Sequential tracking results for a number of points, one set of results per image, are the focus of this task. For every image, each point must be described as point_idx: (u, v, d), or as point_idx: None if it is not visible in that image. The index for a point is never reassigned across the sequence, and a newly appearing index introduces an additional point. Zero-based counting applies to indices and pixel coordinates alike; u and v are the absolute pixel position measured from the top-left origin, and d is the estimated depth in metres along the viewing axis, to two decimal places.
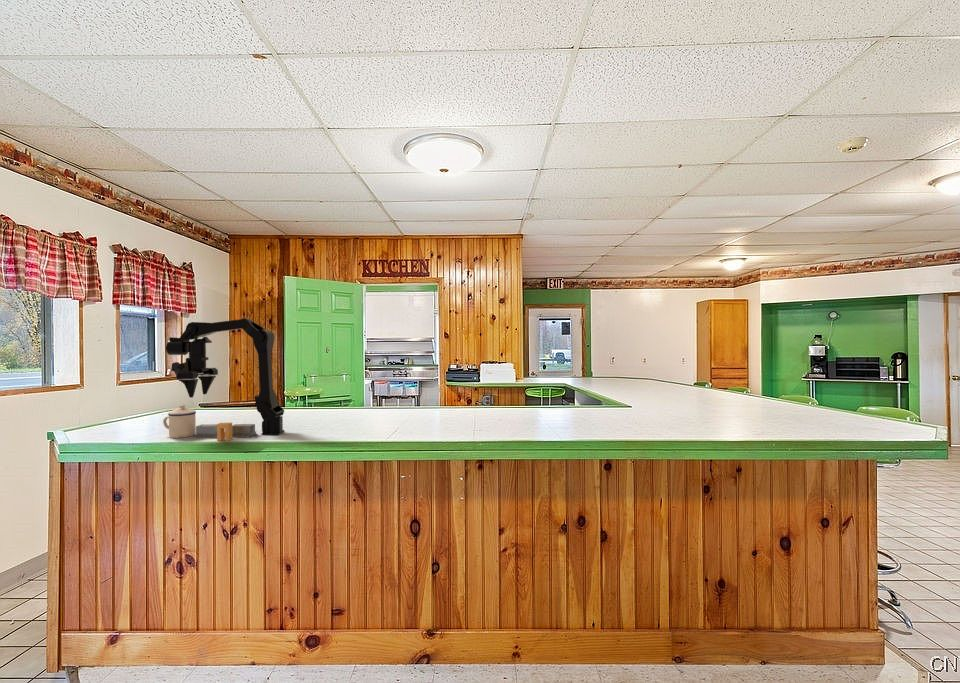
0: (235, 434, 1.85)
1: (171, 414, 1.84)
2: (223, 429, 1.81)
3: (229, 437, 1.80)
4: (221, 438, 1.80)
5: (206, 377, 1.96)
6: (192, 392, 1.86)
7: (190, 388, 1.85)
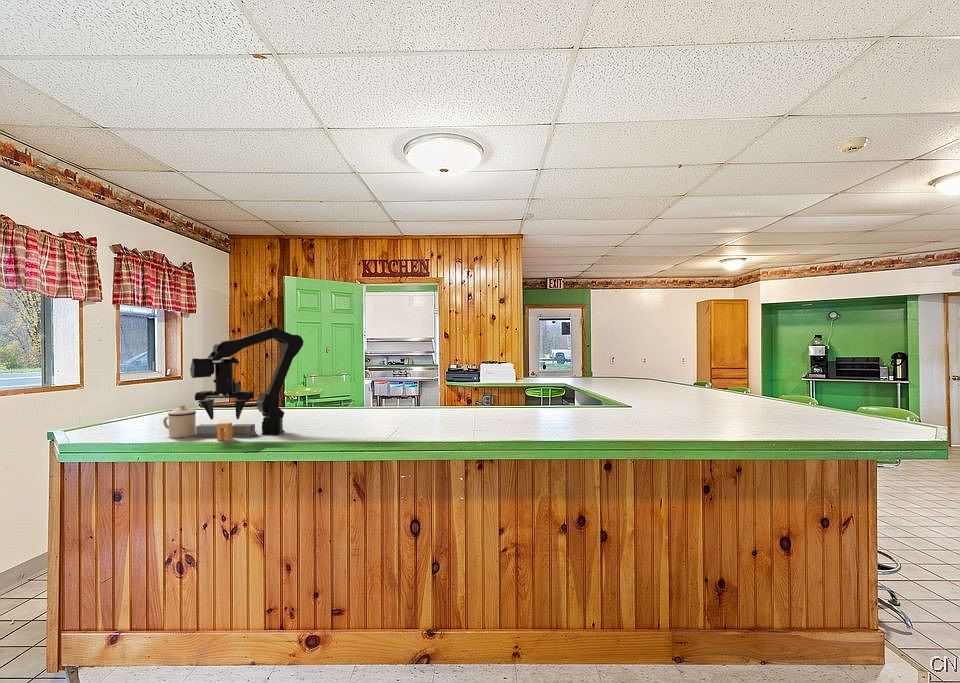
0: (235, 434, 1.85)
1: (171, 414, 1.84)
2: (223, 429, 1.81)
3: (229, 437, 1.80)
4: (221, 438, 1.80)
5: None
6: None
7: None
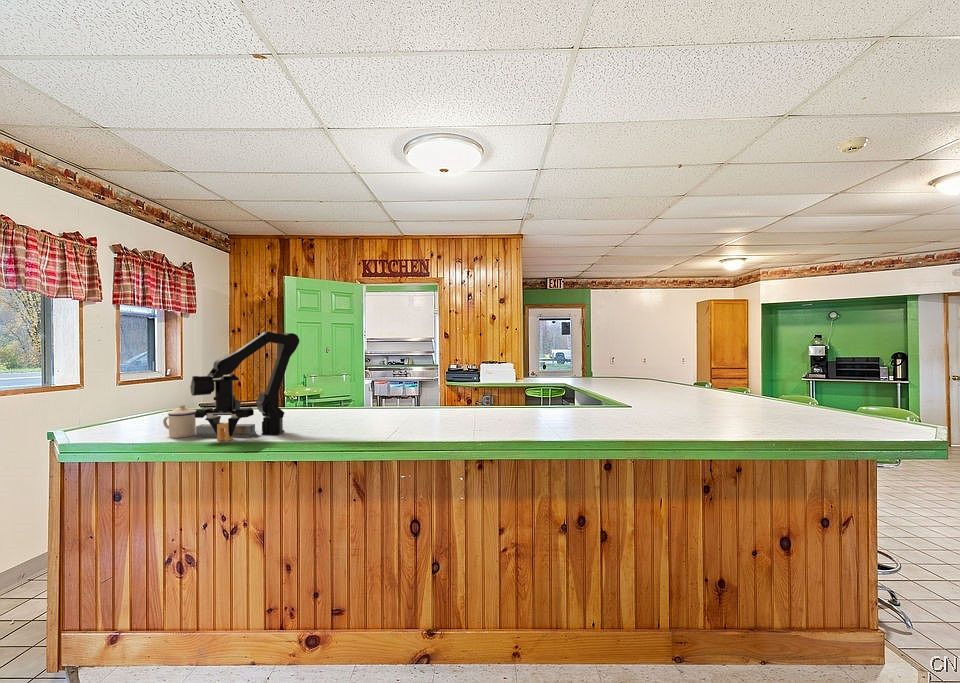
0: (235, 434, 1.85)
1: (171, 414, 1.84)
2: (223, 429, 1.81)
3: (229, 437, 1.80)
4: (221, 438, 1.80)
5: None
6: None
7: None
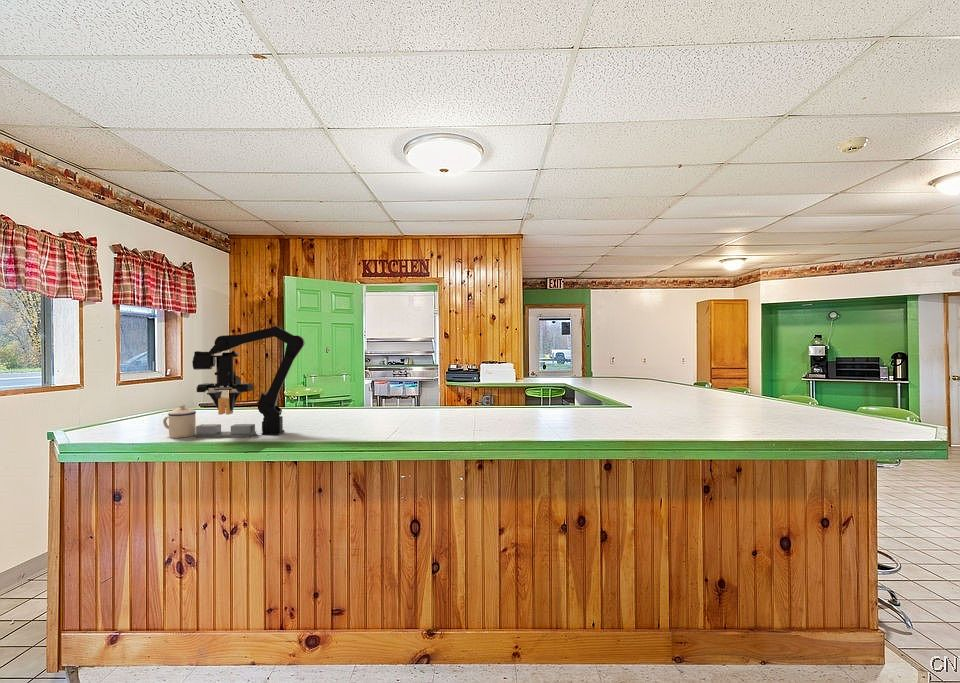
0: (235, 434, 1.85)
1: (171, 414, 1.84)
2: (224, 403, 1.88)
3: (229, 411, 1.87)
4: (222, 412, 1.87)
5: None
6: None
7: None
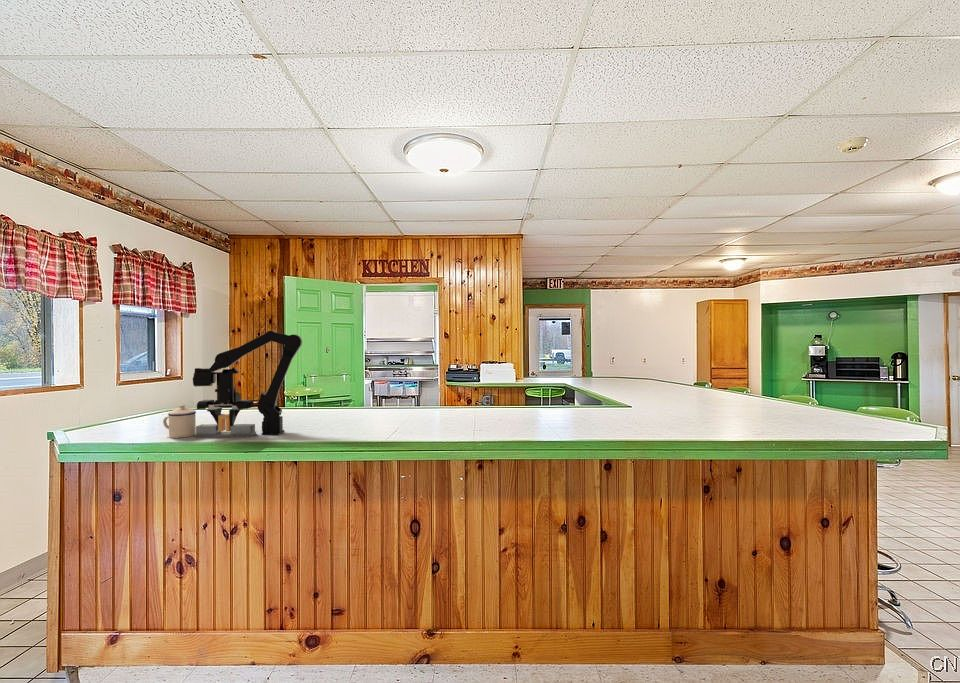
0: (235, 434, 1.85)
1: (171, 414, 1.84)
2: (224, 420, 1.88)
3: (230, 428, 1.87)
4: (222, 429, 1.87)
5: None
6: None
7: None
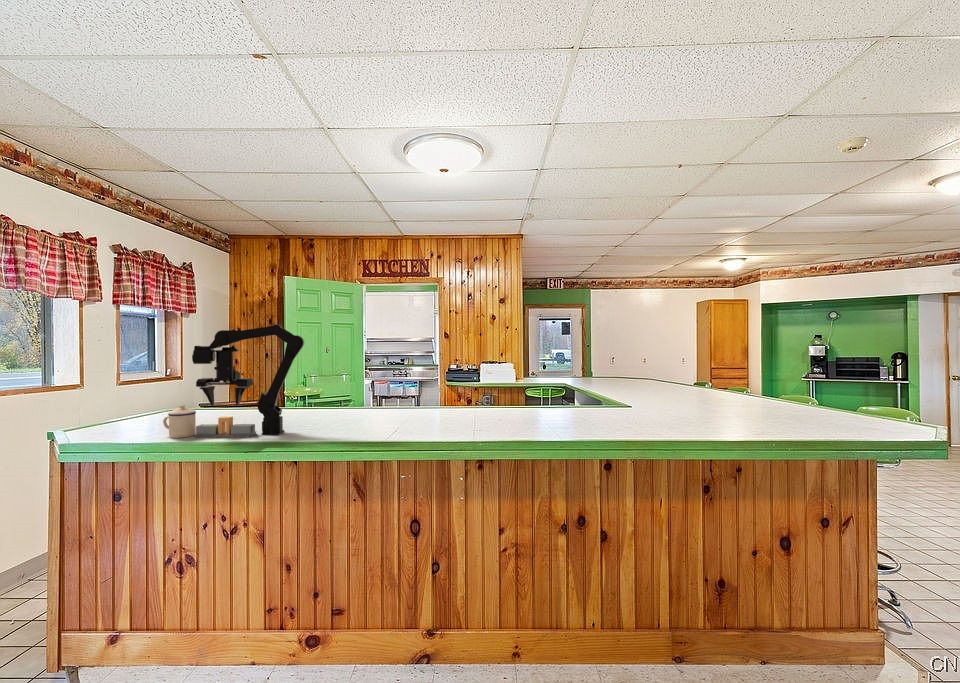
0: (235, 434, 1.85)
1: (171, 414, 1.84)
2: (224, 423, 1.88)
3: (230, 430, 1.87)
4: (222, 431, 1.87)
5: None
6: None
7: None
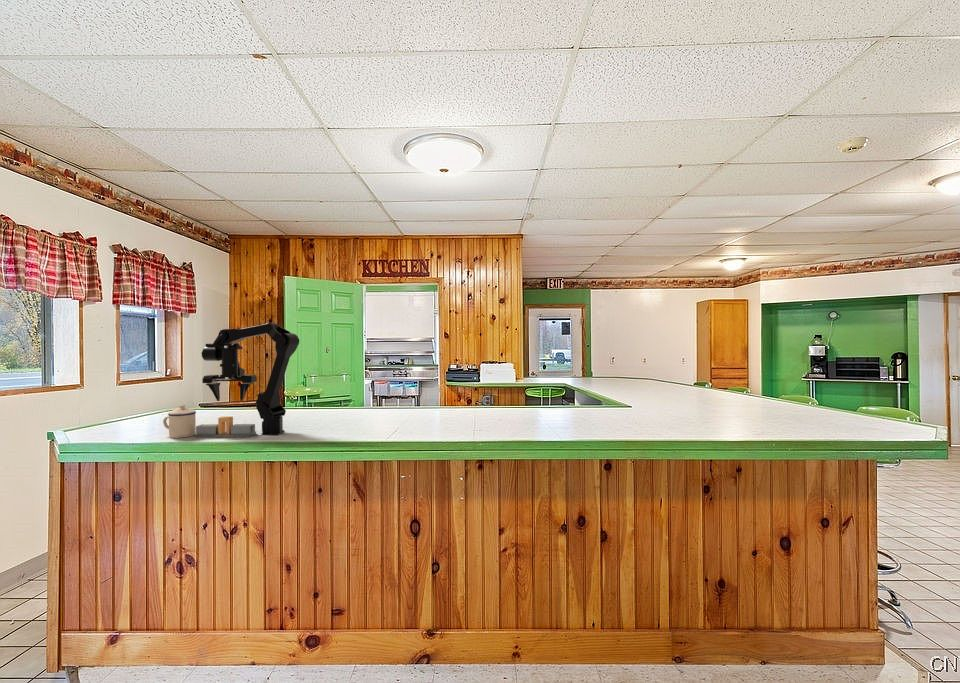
0: (235, 434, 1.85)
1: (171, 414, 1.84)
2: (224, 423, 1.88)
3: (230, 430, 1.87)
4: (222, 431, 1.87)
5: None
6: None
7: None
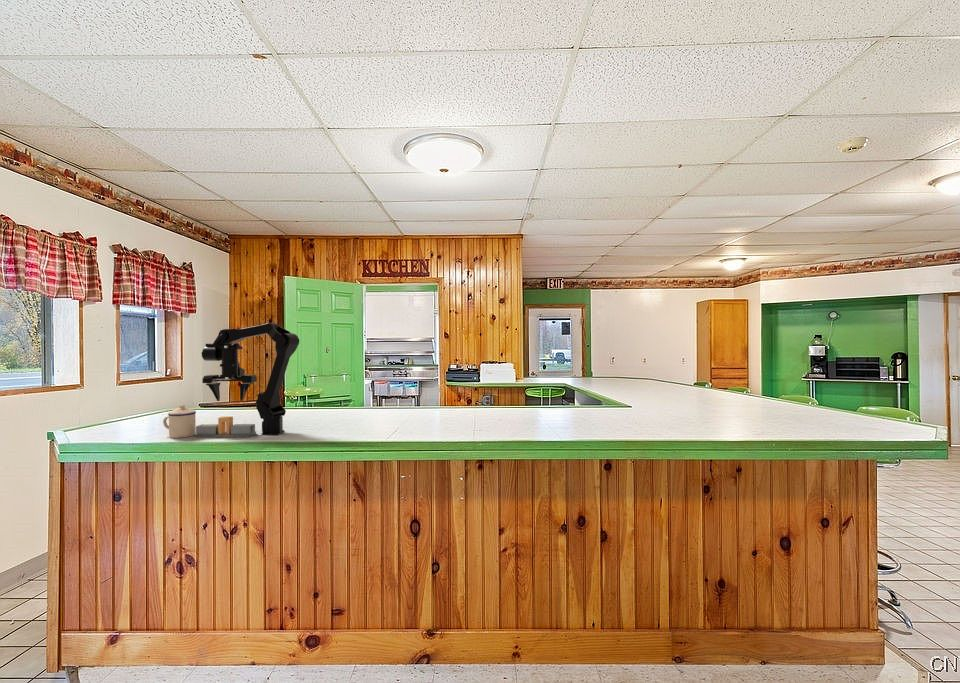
0: (235, 434, 1.85)
1: (171, 414, 1.84)
2: (224, 423, 1.88)
3: (230, 430, 1.87)
4: (222, 431, 1.87)
5: None
6: None
7: None
